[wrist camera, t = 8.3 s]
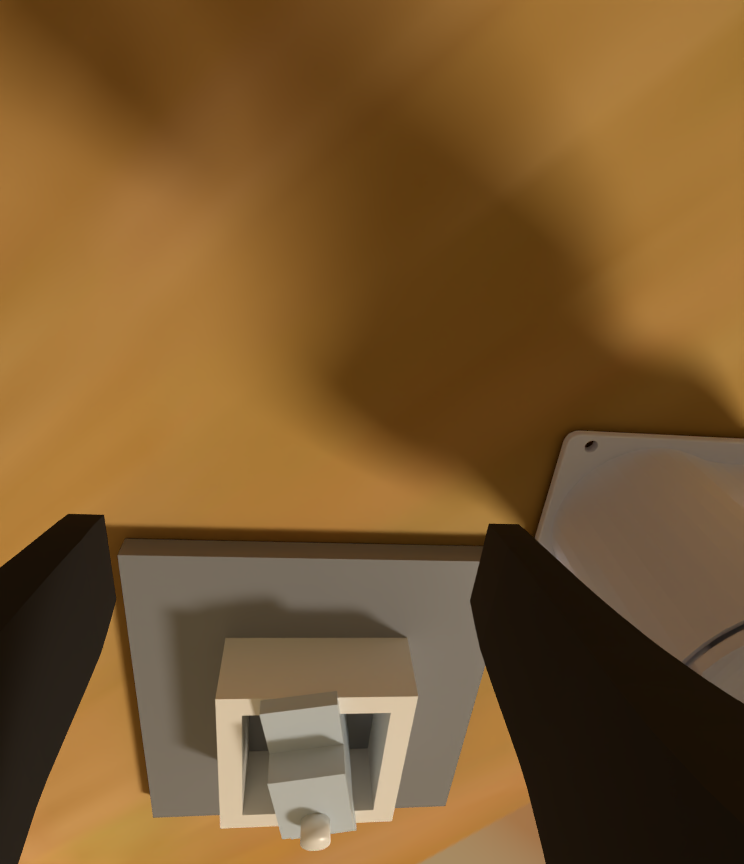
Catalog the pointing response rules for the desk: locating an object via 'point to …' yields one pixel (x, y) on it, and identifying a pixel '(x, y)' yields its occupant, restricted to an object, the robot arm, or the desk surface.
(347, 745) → the block
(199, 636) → the pocket plate
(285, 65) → the desk surface
